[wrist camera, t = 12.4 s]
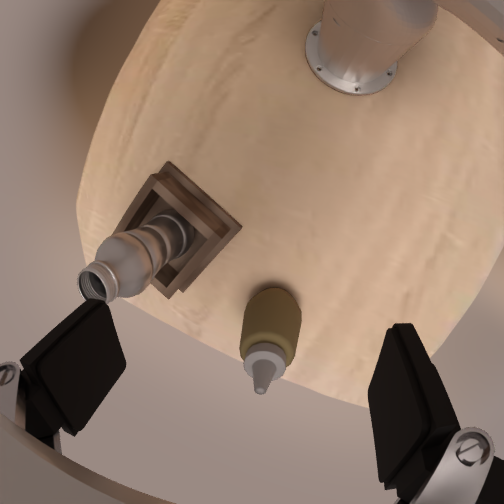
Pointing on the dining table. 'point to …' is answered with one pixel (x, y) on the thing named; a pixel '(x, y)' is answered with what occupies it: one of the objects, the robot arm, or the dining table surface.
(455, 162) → the dining table surface
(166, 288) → the bottle caddy
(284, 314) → the squeeze bottle
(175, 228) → the plastic bottle
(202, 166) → the dining table surface
